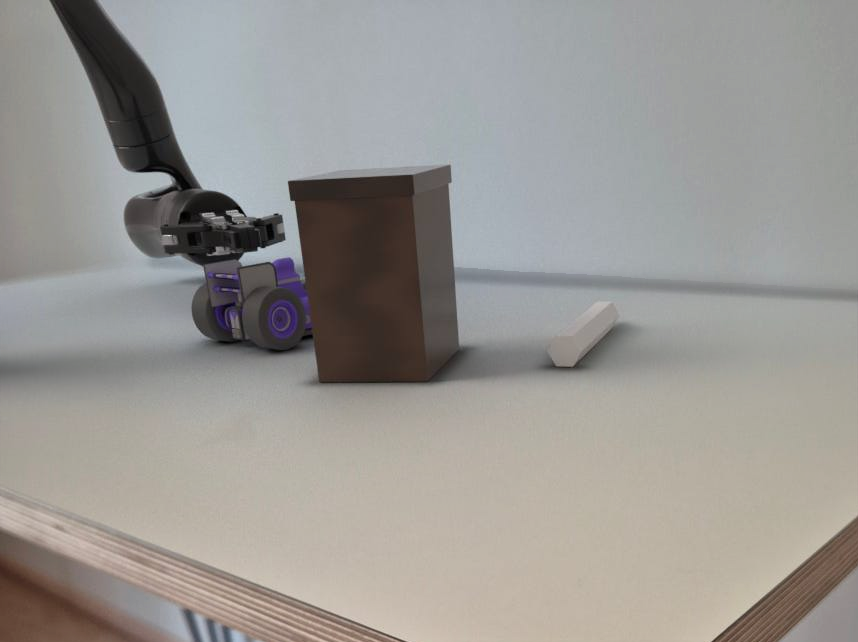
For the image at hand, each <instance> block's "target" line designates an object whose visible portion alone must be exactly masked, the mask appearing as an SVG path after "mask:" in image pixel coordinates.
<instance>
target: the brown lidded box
mask: <svg viewBox="0 0 858 642" xmlns="http://www.w3.org/2000/svg"><path fill="white" fill-rule="evenodd" d="M452 182H453V179H452V165H451V164H433V165H415V166H397V167H395V166H394V167H378V168H377V167H376V168H359V169H357V168H355V169H341V170H335V171H330V172H326V173H320V174H316V175H310V176H305V177H300V178H295V179H291V180H287V186H288V193H289V200H290V202H294V208H295V216H296V222H297V230H298V236H299V237H298V238H299V244H300V251H301V258H302V266H303V273H304V280H305V282H306V289H307V296H308V304H309V311H310V318H311V326H312V333H313V334H312V340H313V346H314V354H315V362H316V369H317V376H318V382H319V383H409V382H410V383H413V382H415V383H418V382H420V383H423V382H428V381H430V380H431V379H432V378H433V376H435V375H436V374H437V372H438V371H440V370H441V368H443V366H444V365H446V363H447V362H448V361H450V360H451V358H452V357H453V356H454V355H455V354H456V353H457V352H459V350H460V338H459V323H458V308H457V307H458V306H457V293H456V291H457V290H456V277H455V260H454V248H453V247H454V246H453V233H452V231H453V230H452V217H451V214H452V213H451V201H450V185H449V184H452Z"/></svg>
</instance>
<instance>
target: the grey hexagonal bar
mask: <svg viewBox="0 0 858 642" xmlns="http://www.w3.org/2000/svg"><path fill="white" fill-rule="evenodd" d="M619 317H620V313H619V311H618V310H617V308H616V306H615V304H614V303H613V301H596V302H595V303H594V304H592V305H591V306H590V307H589V308H587V309H586V310H585V311H584V312H583V313H581V314H580V315H579V316H578V317H576V318H575V319H574V320H573V321H572V322H571V323H568V325H566V326H565V327H564V328H563V329H562V330H561V331H560V332H558V333H557V334H556V335H555V336H554V338H553V340H552V342H551V344H550V346H549V347H548V349H547V353H548V355H549V356H550V358H551V360H552V361H553V363H554V365H555V366H556V367H567V368H569V367H571V368H573V367H574V366H576V364H577V363H578V362H579V361H580V360H582V358H583V357H584V356H585V355H587V354H588V352H590V351H591V349H593V348H594V346H596V345H597V344H598V343H599V342H600V341H601V340H602V339H603V338H604V337H605V336H606V335H607V334H608V333H609V332H610V331H611V330H612V329H613V327H614V326H615V324H616V322H617V321H618V319H619Z"/></svg>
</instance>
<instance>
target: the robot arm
mask: <svg viewBox="0 0 858 642" xmlns="http://www.w3.org/2000/svg"><path fill="white" fill-rule="evenodd" d="M48 1H49V3H50V4H51V7H52V8H53V11H54V13H55V15H56V16H57V19H58V20H59V23H60V24H61V26H62V28H63V30H64V31H65V33H66V36H67V38H68V40H69V41H70V43H71V45H72V47H73V49H74V51H75V53H76V55H77V57H78V58H79V62H80V63H81V66H82V67H83V70H84V72H85V75H86V76H87V80H88V82H89V84H90V86H91V89H92V91H93V94H94V96H95V100H96V102H97V105H98V107H99V110H100V113H101V116H102V118H103V121H104V124H105V127H106V130H107V133H108V136H109V138H110V140H111V143H112V147H113V149H114V152H115V154H116V157H117V160H118V162H119V164H120V165H121V168H123V169H124V170H126V171H127V172H130V173H133V174H134V173H135V174H151V173H153V174H154V173H160V174H165V175H168V176H169V178H170V180H171V184H169V185H165V186H162V187H158V188H156V189H152V190H149V191H145V192H142V193H139V194H136V195H134V196H132V197H131V198H129V200H127V202H126V204H125V206H124V210H123V224H124V228H125V231H126V233H127V236H128V237H129V239H130V241H131V242H132V244H133V246H135V247H136V249H137V250H139V252H141V253H142V254H143V255H145V256H146V257H149V258H151V259H157V260H158V259H159V260H160V259H168V258H174V257H179V256H180V257H181V258H183V259H184V260H186V261H187V262H190V263H193V264H196V265H198V266H200V267H203V265H204V264H210V263H216V262H222V261H228V260H233V259H236V260H238V261H240V260H241V259H242V258H243V256H244V254H247V253H255V252H258V250H259V248H260V249H266V248H268V247H271V246H273V245H277V244H279V243H283V242H285V241H286V239H287V238H286V231H285V224H284V218H283V214H280V213H279V212H275V213H273V214H271V215H263V216H262V217H258V218H257V217H255V216H247V214H246V212H244V209H243V208H242V207H241V206H240V205H239V203H238V202H237V201H236V200H235V199H233V198H232V197H231V196H229V195H228V194H225V193H223V192H221V191H217V190H211V189H204V188H203V187H202V185H201V184H200V181H198V179H197V177H196V176H195V174H194V172H193V171H192V169H191V167H190V165H189V163H188V161H187V160H186V158H185V156H184V154H183V151H182V149H181V147H180V144H179V141H178V140H177V137H176V136H177V135H176V133H175V130H174V127H173V124H172V120H171V117H170V114H169V112H168V108H167V104H166V101H165V99H164V95H163V93H162V90H161V87H160V85H159V82H158V81H157V78H156V76H155V74H154V73H153V71H152V69H151V67H150V66H149V64H148V62H147V61H146V59H145V58H144V57H143V55H142V54H141V53H140V51H139V50H138V49H137V47H136V46H135V45H134V44H133V43H132V41H131V40H130V39H129V37H127V35H126V33H124V32H123V30H122V29H121V28H120V27H119V25H118V24H117V22H115V20H114V19H113V18H112V16H111V15H110V14H109V11H107V9H106V8H105V6H104V5H103V3H102V2H101V0H48Z"/></svg>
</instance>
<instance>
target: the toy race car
mask: <svg viewBox="0 0 858 642" xmlns="http://www.w3.org/2000/svg"><path fill="white" fill-rule="evenodd" d="M202 268H203V273H204V278H205V283H203V284H201V285H200V286H199V287H198V288H197V289H196V291H195V293H194V295H193V298H192V301H191V316H192V321H193V323H194V325H195V327H196V329H197V330H198V331H199V332H200V333H201V334H202V335H203V336H204V337H206V338H208V339H210V340H214V341H215V340H216V341H222V342H227V343H233V342H237V341H239V340H240V341H246V340H250V341H251V342H252V343H254V344H255V345H256V346H258V347H261V348H265V349H271V350H277V351H287V350H290V349H292V348H294V347H295V346H297V344H299V342H301V340H302V338H303V337H306V336H310V335H311V336H312V335H313V333H312V326H311V318H310V311H309V304H308V296H307V289H306V282H305V279H301V276H300V275H299V274H298V273H297V271H296V270H295V262H294V260H293V258H291V257H290V256H287V257H282V258H277V259H275V260H273V262H271V261H264V262H259V263H254V264H249V265H243V264H242V263H241V262H240V260H236V259H233V260H228V261H222V262H216V263H210V264H204V265H203V266H202Z"/></svg>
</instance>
